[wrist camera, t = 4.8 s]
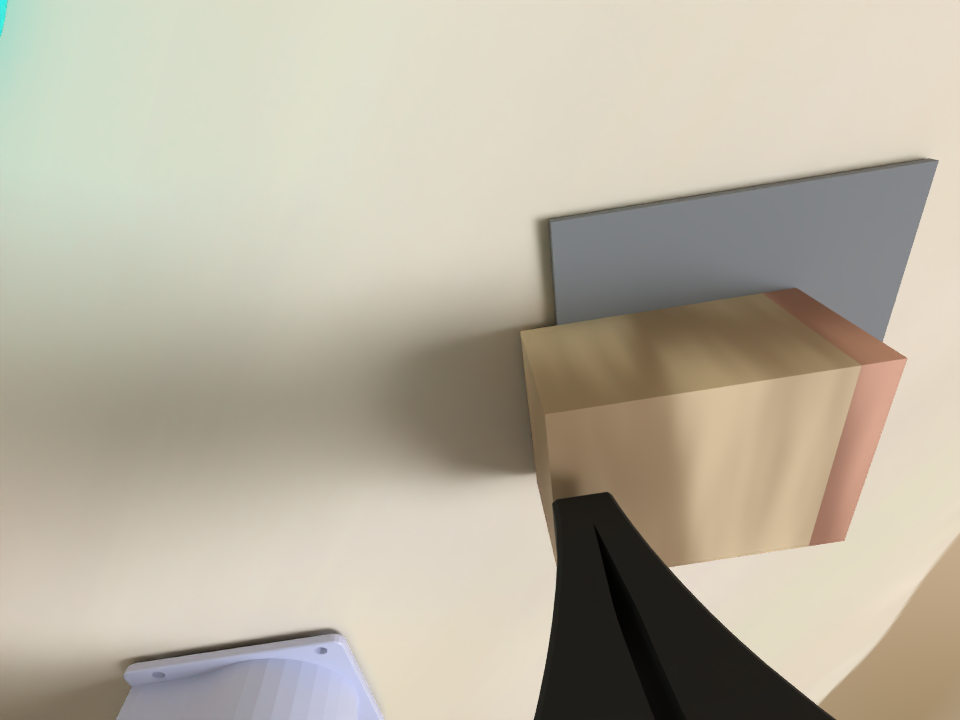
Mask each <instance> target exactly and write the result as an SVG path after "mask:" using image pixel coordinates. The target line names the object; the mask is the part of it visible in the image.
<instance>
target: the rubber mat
mask: <svg viewBox="0 0 960 720" xmlns="http://www.w3.org/2000/svg"><path fill="white" fill-rule="evenodd" d="M938 161H939V160H934V159H923V160H916V161H910V162H904V163H898V164H891V165H885V166H879V167H873V168H866V169H860V170H854V171H848V172H841V173H835V174H829V175H823V176H816V177H810V178H804V179H798V180H791V181H785V182H779V183H773V184H766V185H760V186H754V187H748V188H741V189H735V190H729V191H723V192H716V193H710V194H704V195H698V196H691V197H685V198H679V199H673V200H666V201H660V202H654V203H648V204H641V205H635V206H629V207H623V208H616V209H610V210H604V211H598V212H591V213H585V214H579V215H573V216H566V217H560V218H554V219H549V232H550V247H551V261H552V275H553V289H554V303H555V318H556V325H562V324H569V323H575V322H582V321H588V320H594V319H601V318H607V317H613V316H620V315H626V314H632V313H639V312H645V311H651V310H658V309H664V308H671V307H677V306H683V305H690V304H696V303H702V302H709V301H715V300H721V299H728V298H734V297H741V296H747V295H753V294H760V293H766V292H772V291H779V290H785V289H791V288H798V289H799V290H801V291H802V292H804V293H806V294H807V295H809V296H810V297H812V298H813V299H815V300H817V301H818V302H820V303H821V304H823V305H824V306H826V307H828V308H829V309H831V310H832V311H834V312H835V313H837V314H839V315H840V316H842V317H843V318H845V319H846V320H848V321H850V322H851V323H853V324H854V325H856V326H857V327H859V328H861V329H862V330H864V331H865V332H867V333H868V334H870V335H872V336H873V337H875V338H876V339H878V340H879V341H881V342H883V338H884V335H885V332H886V329H887V325H888V322H889V319H890V316H891V313H892V309H893V306H894V303H895V300H896V296H897V293H898V290H899V287H900V284H901V280H902V277H903V274H904V271H905V267H906V264H907V261H908V258H909V255H910V251H911V248H912V245H913V242H914V238H915V235H916V232H917V229H918V226H919V222H920V219H921V216H922V213H923V209H924V206H925V203H926V200H927V197H928V193H929V190H930V187H931V184H932V180H933V177H934V174H935V171H936V168H937V164H938Z"/></svg>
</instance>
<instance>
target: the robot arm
mask: <svg viewBox="0 0 960 720" xmlns="http://www.w3.org/2000/svg"><path fill="white" fill-rule="evenodd" d="M552 509H553V520H554V530H555V541H556V551H557V577H556V591H555V601H554V610H553V620H552V627H551V634H550V641H549V647H548V653H547V659H546V665H545V670H544V675H543V680H542V685H541V690H540V695H539V700H538V704H537V708H536V713H535V717H534V720H836V719H834V718H833V717H832V716H830V715H829V714H828V713H827V712H825V711H824V710H823V709H821V708H820V707H819V706H817V705H816V704H815V703H814V702H812V701H811V700H810V699H809V698H808V697H806V696H805V695H804V694H803V693H801V692H800V691H799V690H798V689H796V688H795V687H794V686H793V685H792V684H790V683H789V682H788V681H787V680H785V679H784V678H783V677H782V676H780V675H779V674H778V673H777V672H776V671H774V670H773V669H772V668H771V667H769V666H768V665H767V664H766V663H765V662H764V661H762V660H761V659H760V658H759V657H758V656H757V655H756V654H755V653H753V652H752V651H751V650H750V649H749V648H748V647H747V646H746V645H744V644H743V643H742V642H741V641H740V640H739V639H738V638H737V637H736V636H735V635H733V634H732V633H731V632H730V631H729V630H728V629H727V628H726V627H725V626H724V625H723V624H722V623H721V622H720V621H719V620H718V619H717V618H716V617H715V616H714V615H713V614H711V613H710V612H709V611H708V609H707V608H706V607H705V606H704V605H703V604H702V603H701V602H700V601H699V600H698V599H697V598H696V597H695V596H694V595H693V594H692V593H691V592H690V591H689V590H688V589H687V588H686V587H685V586H684V585H683V583H682V582H681V581H680V580H679V579H678V578H677V577H676V576H675V575H674V574H673V572H672V571H671V570H670V569H669V568H668V567H667V566H666V564H665V563H664V562H663V561H662V560H661V559H660V557H659V556H658V555H657V554H656V553H655V552H654V550H653V549H652V548H651V547H650V546H649V544H648V543H647V542H646V541H645V539H644V538H643V537H642V536H641V534H640V533H639V532H638V530H637V529H636V528H635V527H634V525H633V524H632V523H631V521H630V520H629V519H628V517H627V516H626V515H625V513H624V512H623V510H622V509H621V507H620V506H619V505H618V503H617V502H616V500H615V499H614V497H613V495H612V494H610V493H609V492H602V493H595V494H589V495H582V496H576V497H569V498H563V499H556V500H555V501H554V502H553V503H552ZM123 677H124V679H125V680H126V681H127V683H128V684H129V685H130V686H131V689H130V691H129V693H128V695H127V697H126V699H125V701H124V704H123V706H122V708H121V710H120V712H119V714H118V716H117V718H116V720H384V717H383V715H382V713H381V711H380V709H379V707H378V705H377V703H376V701H375V699H374V696H373V694H372V692H371V690H370V688H369V686H368V684H367V682H366V680H365V678H364V676H363V674H362V672H361V670H360V668H359V666H358V664H357V662H356V660H355V658H354V656H353V653H352V651H351V649H350V647H349V645H348V643H347V641H346V639H345V638H344V637H343V636H342V635H340V634H326V635H320V636H313V637H306V638H300V639H293V640H286V641H280V642H273V643H266V644H260V645H253V646H246V647H240V648H233V649H226V650H220V651H213V652H206V653H200V654H193V655H186V656H180V657H173V658H166V659H160V660H153V661H146V662H140V663H134V664H131V665H129V666H128V667H127V669H126V671H125V673H124V676H123Z"/></svg>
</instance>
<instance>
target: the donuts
mask: <svg viewBox="0 0 960 720" xmlns="http://www.w3.org/2000/svg"><path fill="white" fill-rule="evenodd" d="M7 1H8V0H0V36H1V33H2V29H3V25H4V21H5V15H6V8H7Z"/></svg>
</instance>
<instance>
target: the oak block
mask: <svg viewBox="0 0 960 720" xmlns="http://www.w3.org/2000/svg"><path fill="white" fill-rule="evenodd" d="M520 335H521V343H522V352H523V361H524V370H525V379H526V388H527V397H528V406H529V414H530V423H531V432H532V441H533V450H534V459H535V468H536V477H537V484H538V488H539V492H540V497H541V501H542V505H543V510H544V514H545V518H546V522H547V527H548V531H549V535H550V540H551V544H552V548H553V553H554V557H555V561H556V566H557V551H556V541H555V530H554V520H553V509H552V503H553V502H554V501H555V500H556V499H563V498H569V497H576V496H582V495H589V494H595V493H602V492H609V493H610V494H612V495H613V497H614V499H615V500H616V502H617V503H618V505H619V506H620V507H621V509H622V510H623V512H624V513H625V515H626V516H627V517H628V519H629V520H630V521H631V523H632V524H633V525H634V527H635V528H636V529H637V530H638V532H639V533H640V534H641V536H642V537H643V538H644V539H645V541H646V542H647V543H648V544H649V546H650V547H651V548H652V549H653V550H654V552H655V553H656V554H657V555H658V556H659V557H660V559H661V560H662V561H663V562H664V563H665V564H666V566H667V567H673V566H680V565H686V564H693V563H700V562H706V561H713V560H720V559H726V558H733V557H740V556H746V555H753V554H760V553H766V552H773V551H779V550H786V549H793V548H799V547H806V546H813V545H819V544H826V543H833V542H839V541H844V540H845V537H846V534H847V531H848V528H849V526H850V523H851V520H852V517H853V514H854V511H855V508H856V505H857V502H858V500H859V497H860V494H861V491H862V488H863V485H864V482H865V479H866V476H867V474H868V471H869V468H870V465H871V462H872V459H873V456H874V453H875V450H876V448H877V445H878V442H879V439H880V436H881V433H882V430H883V427H884V424H885V422H886V419H887V416H888V413H889V410H890V407H891V404H892V401H893V398H894V396H895V393H896V390H897V387H898V384H899V381H900V378H901V375H902V372H903V370H904V367H905V364H906V361H907V358H906V357H905V356H903V355H901V354H900V353H898V352H897V351H895V350H894V349H892V348H890V347H889V346H887V345H886V344H884V343H883V342H881V341H879V340H878V339H876V338H875V337H873V336H872V335H870V334H868V333H867V332H865V331H864V330H862V329H861V328H859V327H857V326H856V325H854V324H853V323H851V322H850V321H848V320H846V319H845V318H843V317H842V316H840V315H839V314H837V313H835V312H834V311H832V310H831V309H829V308H828V307H826V306H824V305H823V304H821V303H820V302H818V301H817V300H815V299H813V298H812V297H810V296H809V295H807V294H806V293H804V292H802V291H801V290H799V289H798V288H791V289H785V290H779V291H772V292H766V293H760V294H753V295H747V296H741V297H734V298H728V299H721V300H715V301H709V302H702V303H696V304H690V305H683V306H677V307H671V308H664V309H658V310H651V311H645V312H639V313H632V314H626V315H620V316H613V317H607V318H601V319H594V320H588V321H582V322H575V323H569V324H562V325H556V326H550V327H543V328H537V329H531V330H524V331H520Z"/></svg>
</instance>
